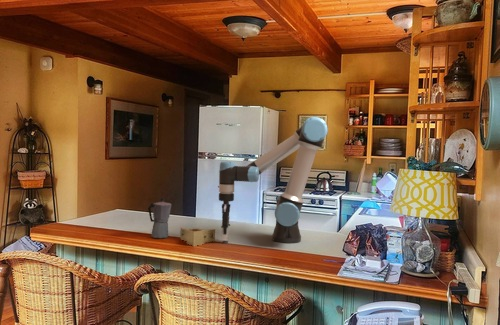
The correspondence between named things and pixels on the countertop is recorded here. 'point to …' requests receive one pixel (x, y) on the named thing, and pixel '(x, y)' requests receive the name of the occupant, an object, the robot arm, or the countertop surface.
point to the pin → (226, 241)
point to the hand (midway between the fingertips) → (225, 239)
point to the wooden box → (197, 236)
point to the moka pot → (160, 218)
